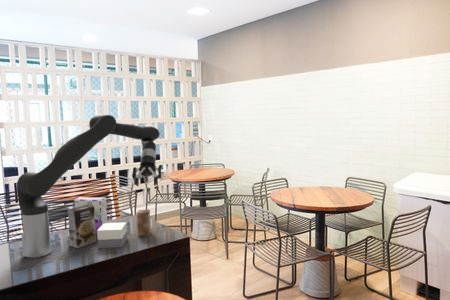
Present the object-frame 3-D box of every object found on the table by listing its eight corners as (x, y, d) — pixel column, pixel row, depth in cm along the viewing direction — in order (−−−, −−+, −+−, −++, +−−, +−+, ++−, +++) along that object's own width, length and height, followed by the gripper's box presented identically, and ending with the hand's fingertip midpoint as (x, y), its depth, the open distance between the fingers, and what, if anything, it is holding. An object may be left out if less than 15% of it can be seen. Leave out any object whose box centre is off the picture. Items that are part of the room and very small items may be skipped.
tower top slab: (97, 239, 148) (97, 230, 148) (104, 231, 158) (103, 223, 158) (121, 238, 149) (121, 229, 148) (126, 231, 159) (126, 222, 158)
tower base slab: (98, 249, 149) (98, 239, 148) (104, 240, 159) (104, 231, 158) (122, 247, 149) (122, 238, 149) (127, 239, 159) (126, 230, 159)
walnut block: (138, 236, 162) (137, 212, 161) (139, 232, 167) (138, 209, 166) (149, 235, 163) (148, 212, 161) (150, 232, 167) (149, 209, 166)
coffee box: (77, 248, 148) (75, 211, 147) (69, 245, 152) (66, 209, 151) (96, 242, 156) (94, 206, 154) (88, 239, 160) (86, 204, 158)
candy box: (75, 233, 168) (72, 199, 166) (82, 229, 174) (79, 196, 172) (102, 234, 166) (100, 200, 164) (108, 230, 172) (106, 197, 170)
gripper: (133, 155, 181) (130, 181, 171) (161, 154, 182) (159, 180, 172) (135, 163, 187) (132, 189, 177) (162, 163, 188) (161, 188, 178)
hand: (146, 185), depth 174 cm, fingers open, 8 cm apart
